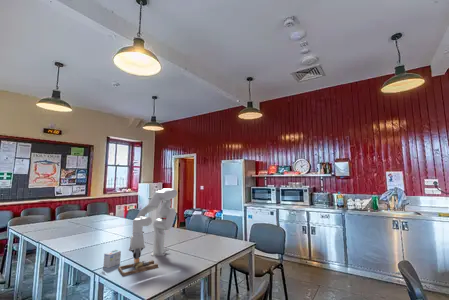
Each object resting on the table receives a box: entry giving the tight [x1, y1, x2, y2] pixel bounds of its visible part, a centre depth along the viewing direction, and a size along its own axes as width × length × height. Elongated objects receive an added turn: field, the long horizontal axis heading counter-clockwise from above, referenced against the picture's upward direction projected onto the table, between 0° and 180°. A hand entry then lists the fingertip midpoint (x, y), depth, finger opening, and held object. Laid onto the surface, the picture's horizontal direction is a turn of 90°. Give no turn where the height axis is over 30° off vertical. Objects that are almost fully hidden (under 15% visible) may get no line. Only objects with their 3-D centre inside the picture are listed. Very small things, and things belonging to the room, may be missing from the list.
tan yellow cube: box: [134, 261, 143, 270], centre depth 171 cm, size 4×4×4 cm
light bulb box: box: [102, 249, 122, 269], centre depth 177 cm, size 11×7×11 cm, turn 157°
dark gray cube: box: [141, 260, 150, 266], centre depth 174 cm, size 4×4×4 cm
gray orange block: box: [133, 249, 141, 264], centre depth 183 cm, size 3×5×11 cm, turn 37°
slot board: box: [117, 259, 159, 277], centre depth 171 cm, size 26×14×3 cm, turn 127°
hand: (136, 257), depth 182 cm, fingers closed on gray orange block, 2 cm apart
